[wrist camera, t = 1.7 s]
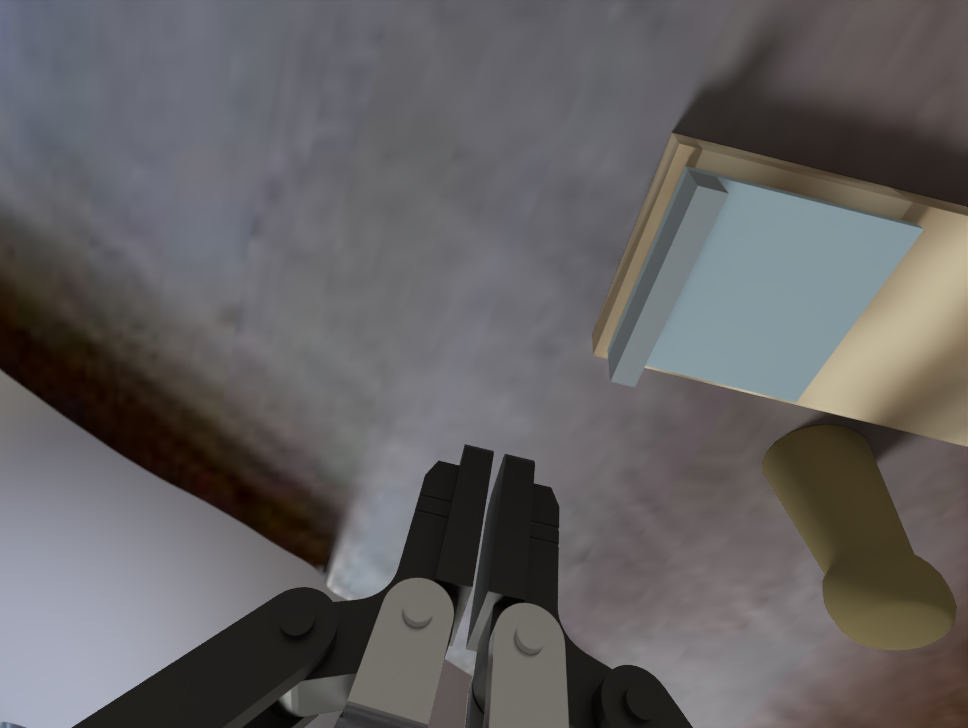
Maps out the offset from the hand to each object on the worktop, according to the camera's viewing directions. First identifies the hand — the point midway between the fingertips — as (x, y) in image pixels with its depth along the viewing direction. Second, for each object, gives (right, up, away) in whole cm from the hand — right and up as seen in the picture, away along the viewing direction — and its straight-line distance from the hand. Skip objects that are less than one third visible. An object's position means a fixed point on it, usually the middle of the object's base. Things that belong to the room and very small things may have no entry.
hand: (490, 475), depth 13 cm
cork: (+21, -3, +20) cm, 29 cm away
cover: (+12, +6, +12) cm, 18 cm away
